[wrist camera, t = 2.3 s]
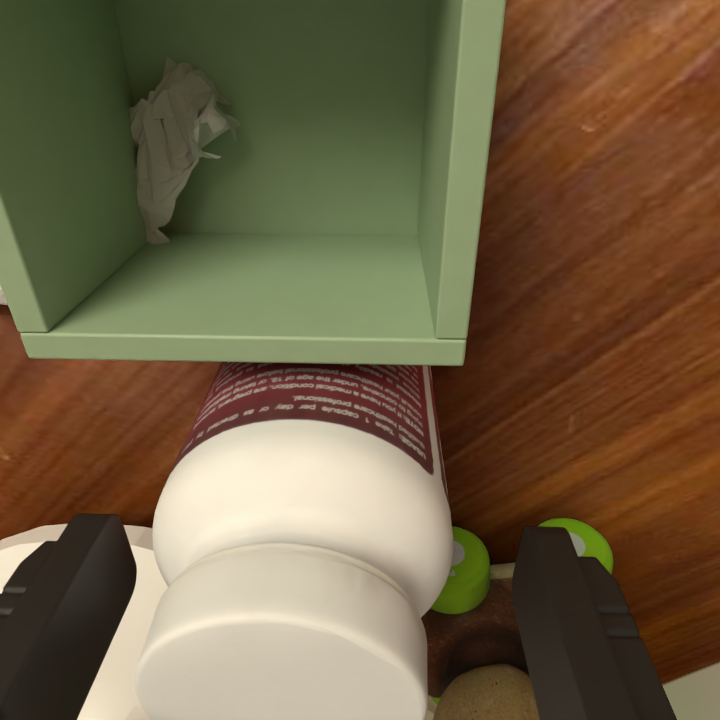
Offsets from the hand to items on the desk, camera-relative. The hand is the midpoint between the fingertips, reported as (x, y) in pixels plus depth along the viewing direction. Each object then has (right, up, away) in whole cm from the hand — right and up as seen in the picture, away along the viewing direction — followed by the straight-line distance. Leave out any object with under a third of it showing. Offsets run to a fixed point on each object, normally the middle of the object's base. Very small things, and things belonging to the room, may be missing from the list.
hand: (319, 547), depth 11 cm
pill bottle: (0, +4, +7) cm, 8 cm away
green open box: (-1, +11, +3) cm, 11 cm away
